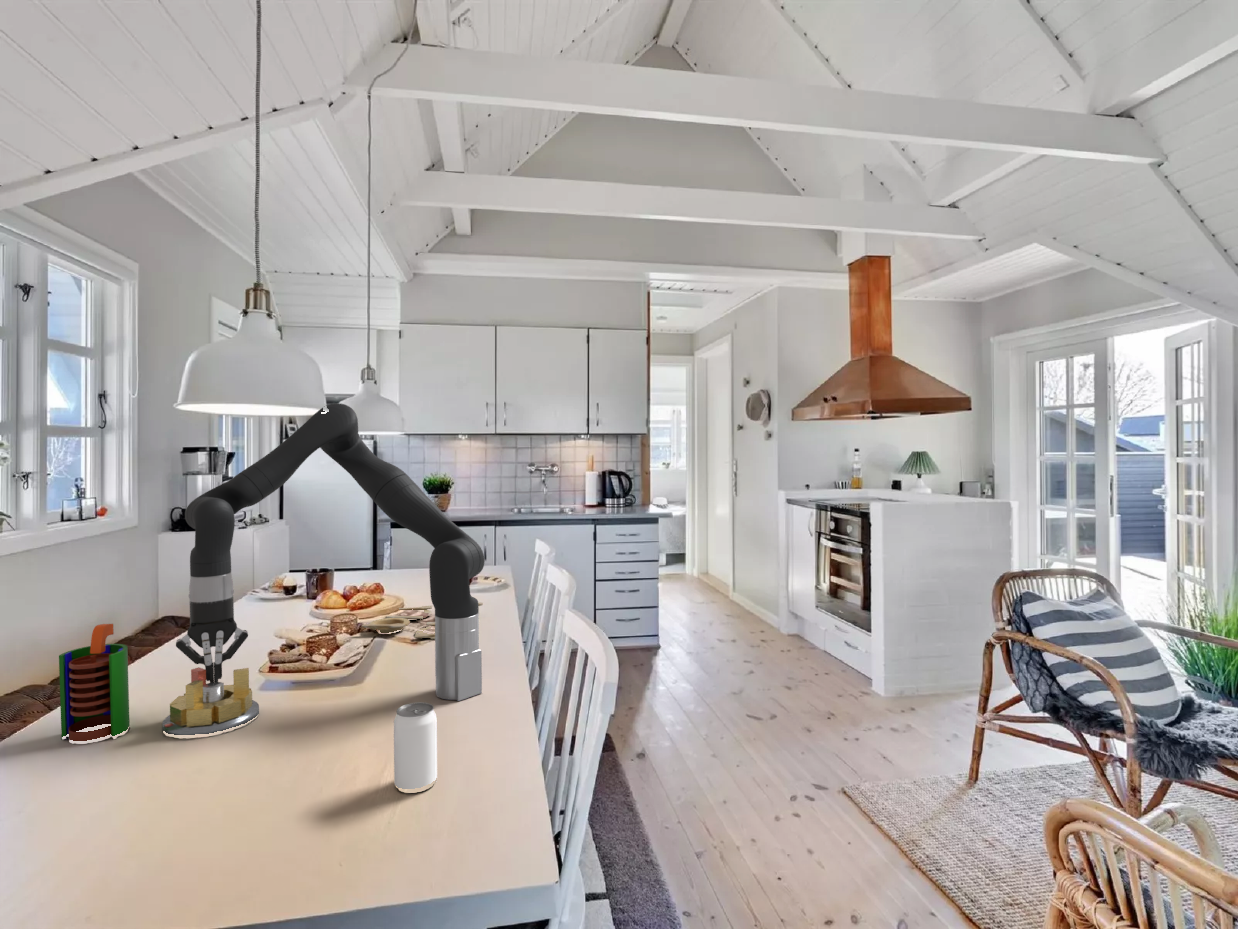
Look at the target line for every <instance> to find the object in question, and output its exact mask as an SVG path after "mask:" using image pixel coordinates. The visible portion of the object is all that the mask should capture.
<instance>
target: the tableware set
mask: <svg viewBox="0 0 1238 929" xmlns="http://www.w3.org/2000/svg"><path fill="white" fill-rule="evenodd" d="M478 604H479V607H481V606H483V605H484V603H483V602H478ZM398 608H399V610H412V609H413V610H424V612H425V613H432V611H431V609H433V605H425V606H424V605H422V606H417V607H416V606H413V607H398ZM408 619H420V621H422V620H423V616H387V615H386V616H385V617H384V618H381V619H376V620H373V621H370V622H369V623H365V624H362V625H361V628H362V627H364V628H365V629H370V630H373V631H375V630H376V629H378V630H380V632H381V633H389V632H394V631H397V630H401V629H402V628H403V629H404V628H405V627H407V626H408V625H410V622H411V621H409V620H408ZM421 619H422V620H421ZM425 624H426V626H425V627H426V628H425V627H422V628H420V629H418V630H423V631H424V630H427V629H429V628H431V627H429V626H435V621H432V622H431V621H428V622H426V623H425ZM403 629H402V630H403ZM418 630H416V631H417V632H416V631H415V634H414V637H413V638H414V639H422V638H431V639H430V640H435V633H434V634H427V633H423V631H418ZM416 633H420V634H416Z"/></svg>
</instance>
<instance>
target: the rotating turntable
mask: <svg viewBox="0 0 1238 929" xmlns="http://www.w3.org/2000/svg"><path fill="white" fill-rule="evenodd" d="M224 685H225V684H224V682H222V681H218V682H213V683H210V682H208V683H206V684H204V685H203V704H206V703H215V702H218V701H221V700H224ZM258 714H259V715H260V705H259V703H258V702H257V701H256V700H253V699H252V706H251V707H250V708H249V710H248V711H247V712H246V713H241V716H238V717H235V718H232V719H229V720H226V721H223V722H220V723H217V722H215V721H214V723H213V724H212V725H201V726H189V727H187V725H184V726H179V725H177V724H175V723H172V722H170V714H169V715H167V716H166V717H165V718H164V719H163V721H162V732H163V731H165V732H166V733H168V734H174V735H195V734H209V733H214V732H217V731H223V730H226V729H229V728H232V727H236V726H239V725H241V724H245V723H247V722H248V721H250V720H252V719H253V718H255V717H256V716H257V715H258Z"/></svg>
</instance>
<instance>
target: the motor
mask: <svg viewBox="0 0 1238 929" xmlns="http://www.w3.org/2000/svg"><path fill="white" fill-rule="evenodd" d="M114 634H115V632H114V623H102V624H96V625H95V626H94V628H93V629H92V634H91V639H90V646H89V645H88V646H84V647H78V648H75V649H71V650H67V651H65V652H63V653H61V654H59V655H58V666H59V667H58V669H59V670H58V671H59V672H58V673H59V676H58V677H59V700H60V701H59V702H60V730H61V734H60V735H61V737H63V736H66V735H67V734H69V738H68V740H69V739H70V740H73V741H87V740H92V739H97V738H100V737H105V736H107V735H110V734H111V735H112V736H115V735H117V734H120V733H122V732H123V731H126V730H127V729H128V727H129V726H131V725H130V723H131V722H130V694H129V692H130V691H129V688H130V687H129V661H128V660H129V656H128V645H126V644H124V643H106V641H107V637H108V636H111V635H112V636H113V635H114ZM102 724H111V726H108V727H105V728H102V729H98V730H94V731H88V732H76V731H79V730H82V729H84V728H87V727H94V726H97V725H102Z"/></svg>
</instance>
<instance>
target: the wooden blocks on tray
mask: <svg viewBox="0 0 1238 929" xmlns="http://www.w3.org/2000/svg"><path fill="white" fill-rule="evenodd" d="M190 672H191V673H190V680H191V682H190V683H187V684H186V685H185V693H183V695H178V696H177V697H176V698H175V699H173V700H172V701H171V702H170V703H169V715H170V722H172V723H175V724H177V725H179V726H184V725H187V727H189V726H201V725H212V724H213V723H214V721H215V722H217V723H220V722H223V721H226V720H229V719H232V718H235V717H238V716H241V713H246V712H247V711H248V710H249V708H250V707H251V706H252V700H253V690H252V688H250V667H244V668H243V667H242V668H237V669H233V675H232V676H233V684H224V700H221V701H218V702H215V703H206V704H203V685H204V684H207V680H206V669H205V668H202V667H195V668H192V669H191V670H190Z"/></svg>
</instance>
